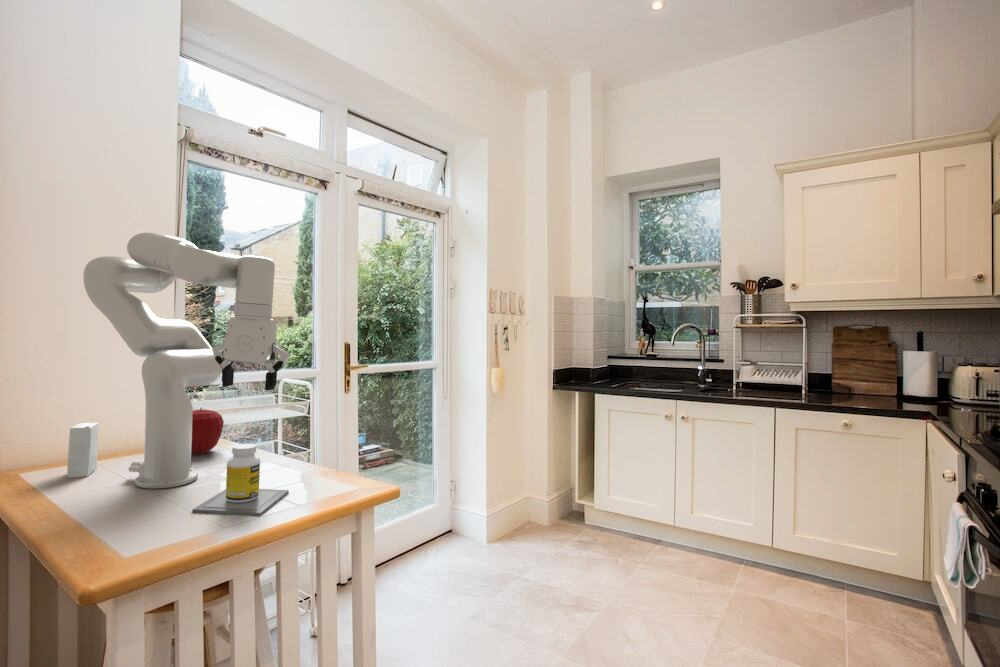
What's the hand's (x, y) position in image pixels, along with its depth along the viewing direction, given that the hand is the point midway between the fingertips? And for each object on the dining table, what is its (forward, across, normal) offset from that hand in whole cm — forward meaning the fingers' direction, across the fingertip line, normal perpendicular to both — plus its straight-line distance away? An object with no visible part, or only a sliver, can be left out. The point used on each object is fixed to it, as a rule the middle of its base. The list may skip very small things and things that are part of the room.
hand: (248, 387), depth 114 cm
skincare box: (+26, -44, +8) cm, 52 cm away
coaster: (+25, +2, -4) cm, 25 cm away
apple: (+26, -30, +32) cm, 51 cm away
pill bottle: (+24, +2, -4) cm, 24 cm away
